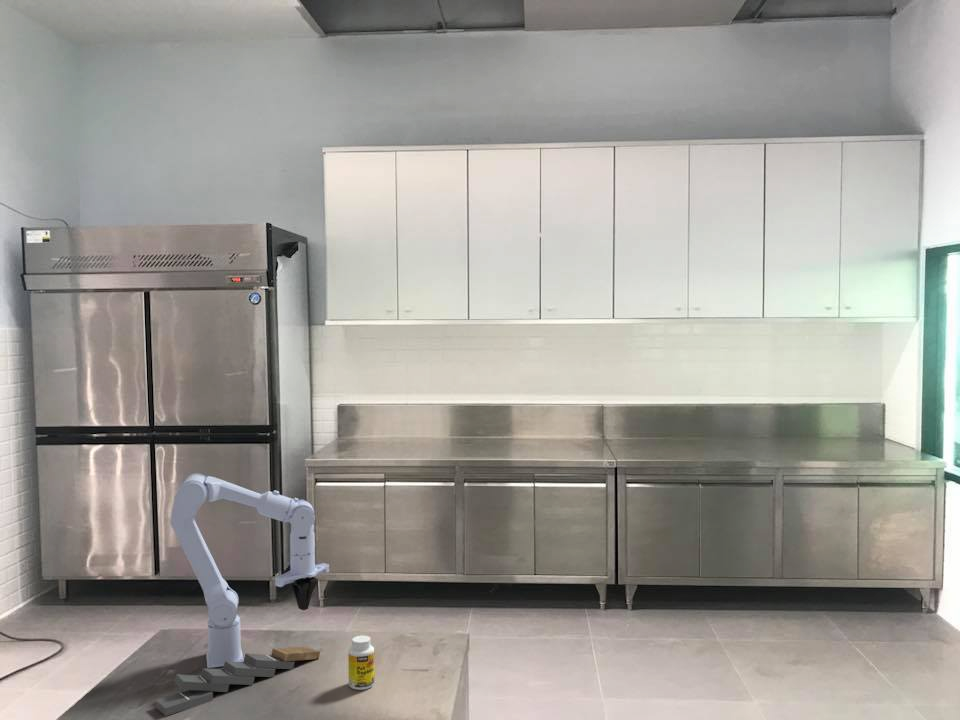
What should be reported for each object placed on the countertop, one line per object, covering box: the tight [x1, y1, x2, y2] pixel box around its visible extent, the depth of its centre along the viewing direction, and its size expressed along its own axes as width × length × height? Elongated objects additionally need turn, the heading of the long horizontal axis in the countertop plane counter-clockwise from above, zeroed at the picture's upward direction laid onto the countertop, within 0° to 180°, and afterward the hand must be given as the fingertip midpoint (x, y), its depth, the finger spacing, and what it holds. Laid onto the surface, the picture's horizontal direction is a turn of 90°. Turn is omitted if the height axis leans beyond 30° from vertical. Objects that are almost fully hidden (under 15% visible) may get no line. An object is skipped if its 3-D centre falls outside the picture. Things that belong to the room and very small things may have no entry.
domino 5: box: [243, 653, 296, 670], centre depth 177 cm, size 2×5×10 cm
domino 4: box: [222, 661, 276, 678], centre depth 173 cm, size 2×5×10 cm
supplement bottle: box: [347, 635, 375, 691], centre depth 169 cm, size 6×6×10 cm
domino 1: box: [173, 673, 230, 693], centre depth 166 cm, size 2×5×10 cm
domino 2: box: [154, 690, 214, 717], centre depth 162 cm, size 2×5×10 cm
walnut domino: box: [270, 646, 321, 662], centre depth 181 cm, size 2×5×10 cm
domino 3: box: [200, 667, 256, 686], centre depth 169 cm, size 2×5×10 cm
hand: (303, 608), depth 187 cm, fingers closed
